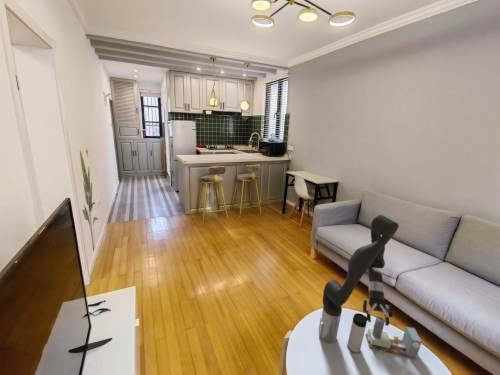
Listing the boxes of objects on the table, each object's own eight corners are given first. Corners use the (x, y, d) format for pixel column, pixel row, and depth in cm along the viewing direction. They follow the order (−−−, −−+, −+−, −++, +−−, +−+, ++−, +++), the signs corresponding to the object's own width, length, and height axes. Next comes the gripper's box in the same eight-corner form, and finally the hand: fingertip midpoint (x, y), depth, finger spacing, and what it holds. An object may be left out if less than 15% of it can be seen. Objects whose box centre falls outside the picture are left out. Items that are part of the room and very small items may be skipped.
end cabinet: (408, 355, 119) (412, 340, 116) (401, 341, 127) (406, 326, 124) (416, 357, 118) (421, 342, 116) (410, 343, 126) (414, 328, 123)
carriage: (371, 343, 123) (376, 324, 119) (367, 332, 130) (372, 313, 126) (389, 348, 121) (395, 328, 118) (385, 336, 128) (390, 317, 124)
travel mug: (362, 354, 119) (369, 323, 114) (348, 351, 121) (355, 320, 115) (359, 344, 125) (366, 313, 120) (346, 341, 127) (352, 311, 121)
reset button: (395, 345, 122) (397, 340, 121) (393, 339, 125) (394, 334, 124) (402, 347, 121) (403, 341, 120) (399, 341, 125) (401, 335, 124)
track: (369, 348, 123) (370, 345, 123) (365, 335, 131) (366, 332, 130) (416, 359, 119) (417, 355, 118) (409, 345, 126) (410, 341, 126)
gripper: (364, 287, 130) (365, 320, 123) (392, 292, 127) (395, 327, 120) (360, 289, 137) (361, 321, 129) (387, 294, 134) (390, 326, 126)
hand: (378, 323), depth 124 cm, fingers open, 8 cm apart
